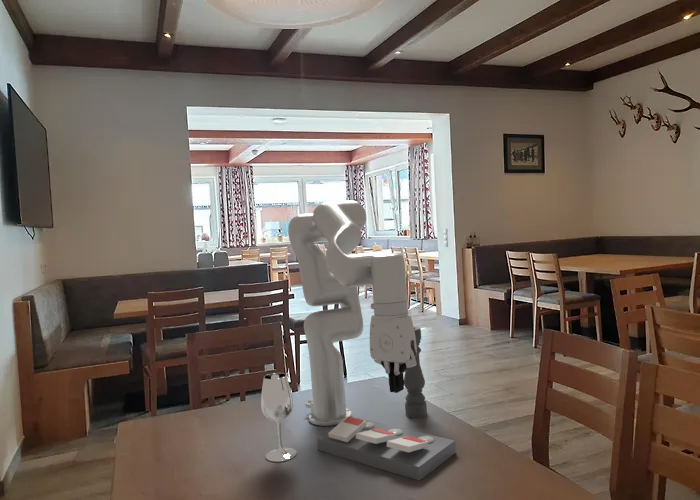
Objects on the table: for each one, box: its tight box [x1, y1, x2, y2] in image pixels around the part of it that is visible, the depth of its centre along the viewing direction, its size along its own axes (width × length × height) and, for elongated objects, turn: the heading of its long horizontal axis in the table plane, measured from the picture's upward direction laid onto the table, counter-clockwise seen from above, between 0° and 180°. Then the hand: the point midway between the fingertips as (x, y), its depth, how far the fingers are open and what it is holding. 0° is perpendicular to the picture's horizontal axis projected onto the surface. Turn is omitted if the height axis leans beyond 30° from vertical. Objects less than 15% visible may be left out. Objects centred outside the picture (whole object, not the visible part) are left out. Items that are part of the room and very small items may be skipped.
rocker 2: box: [356, 429, 396, 444], centre depth 127 cm, size 6×8×1 cm
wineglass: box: [260, 372, 297, 463], centre depth 131 cm, size 8×8×20 cm
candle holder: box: [403, 326, 428, 419], centre depth 152 cm, size 6×6×25 cm
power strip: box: [316, 417, 457, 481], centre depth 131 cm, size 35×16×3 cm, turn 50°
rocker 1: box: [327, 416, 367, 442], centre depth 132 cm, size 6×8×1 cm
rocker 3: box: [387, 436, 428, 452], centre depth 121 cm, size 6×8×1 cm
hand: (396, 390), depth 118 cm, fingers closed
